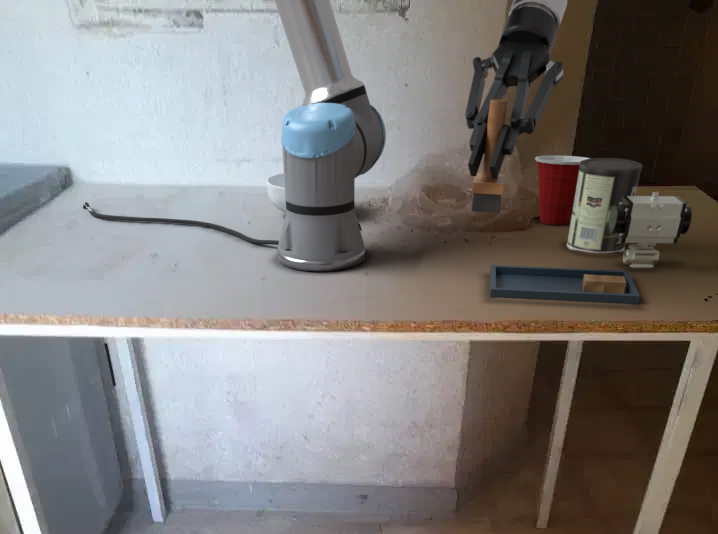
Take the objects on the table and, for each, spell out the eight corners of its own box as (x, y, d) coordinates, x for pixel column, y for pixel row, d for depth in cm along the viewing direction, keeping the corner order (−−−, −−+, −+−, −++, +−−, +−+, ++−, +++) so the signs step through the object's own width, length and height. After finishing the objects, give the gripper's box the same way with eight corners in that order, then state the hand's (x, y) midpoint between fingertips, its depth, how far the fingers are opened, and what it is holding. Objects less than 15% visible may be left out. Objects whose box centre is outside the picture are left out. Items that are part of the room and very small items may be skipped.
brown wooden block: (583, 292, 112) (585, 280, 111) (581, 285, 114) (584, 274, 113) (603, 293, 111) (605, 281, 110) (601, 286, 114) (604, 275, 113)
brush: (469, 211, 106) (481, 102, 98) (472, 200, 112) (483, 96, 104) (500, 213, 105) (514, 103, 97) (501, 201, 111) (515, 97, 103)
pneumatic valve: (600, 262, 125) (614, 188, 118) (670, 263, 124) (688, 188, 117) (607, 273, 121) (623, 196, 114) (679, 274, 120) (700, 197, 113)
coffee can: (621, 240, 135) (638, 158, 127) (627, 257, 127) (646, 170, 119) (564, 237, 137) (577, 156, 129) (566, 254, 129) (581, 168, 121)
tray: (489, 300, 111) (490, 289, 110) (489, 275, 120) (490, 264, 119) (637, 308, 108) (640, 296, 107) (625, 281, 117) (628, 270, 116)
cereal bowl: (333, 229, 143) (333, 190, 139) (255, 222, 147) (253, 185, 143) (358, 207, 156) (359, 172, 152) (286, 202, 161) (284, 168, 156)
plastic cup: (582, 215, 150) (593, 151, 143) (582, 230, 141) (594, 163, 134) (528, 212, 152) (536, 149, 145) (525, 226, 143) (534, 160, 136)
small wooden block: (603, 293, 111) (605, 281, 110) (601, 286, 114) (604, 275, 113) (623, 294, 111) (626, 282, 110) (621, 287, 113) (624, 276, 112)
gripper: (587, 47, 105) (538, 193, 103) (484, 43, 111) (436, 181, 109) (586, 4, 99) (534, 159, 96) (477, 2, 104) (425, 149, 102)
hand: (482, 171), depth 103 cm, fingers closed on brush, 2 cm apart
